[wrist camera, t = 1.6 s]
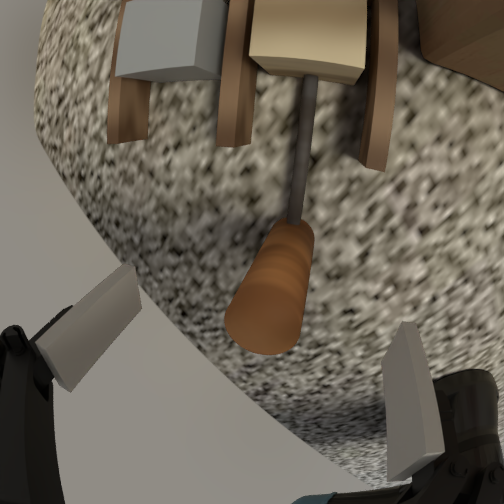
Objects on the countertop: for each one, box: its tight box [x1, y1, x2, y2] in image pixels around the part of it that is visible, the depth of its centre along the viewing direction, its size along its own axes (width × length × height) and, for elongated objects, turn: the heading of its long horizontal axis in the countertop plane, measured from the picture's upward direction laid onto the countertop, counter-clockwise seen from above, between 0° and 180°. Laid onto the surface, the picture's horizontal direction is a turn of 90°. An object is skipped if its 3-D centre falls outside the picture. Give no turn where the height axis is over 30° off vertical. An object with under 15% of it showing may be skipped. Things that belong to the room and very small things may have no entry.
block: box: [115, 0, 229, 83], centre depth 15 cm, size 6×6×6 cm
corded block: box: [224, 0, 367, 355], centre depth 14 cm, size 20×6×11 cm, turn 175°
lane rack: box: [107, 0, 398, 172], centre depth 15 cm, size 14×20×4 cm
